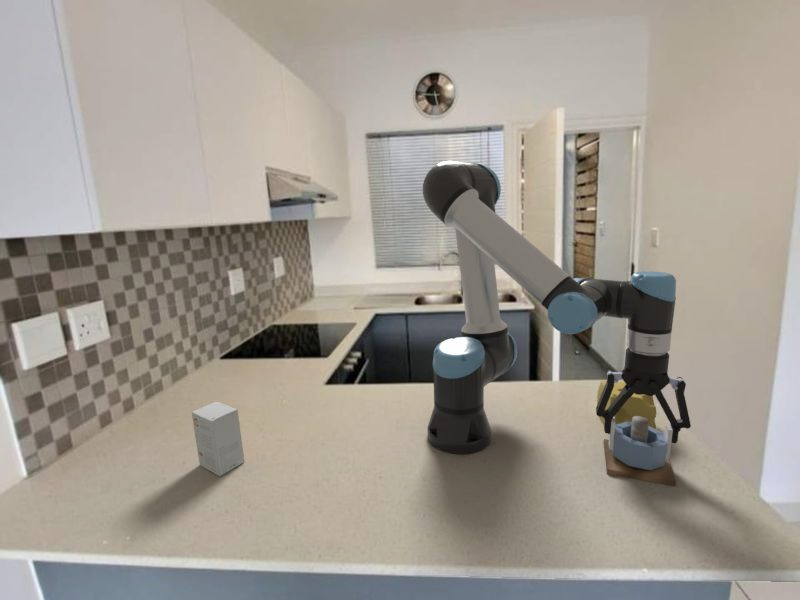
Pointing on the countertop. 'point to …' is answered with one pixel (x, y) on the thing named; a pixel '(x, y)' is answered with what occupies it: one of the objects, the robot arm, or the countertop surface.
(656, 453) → the ring
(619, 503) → the countertop surface
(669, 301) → the robot arm
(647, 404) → the cheese
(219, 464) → the small box
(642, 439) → the post
